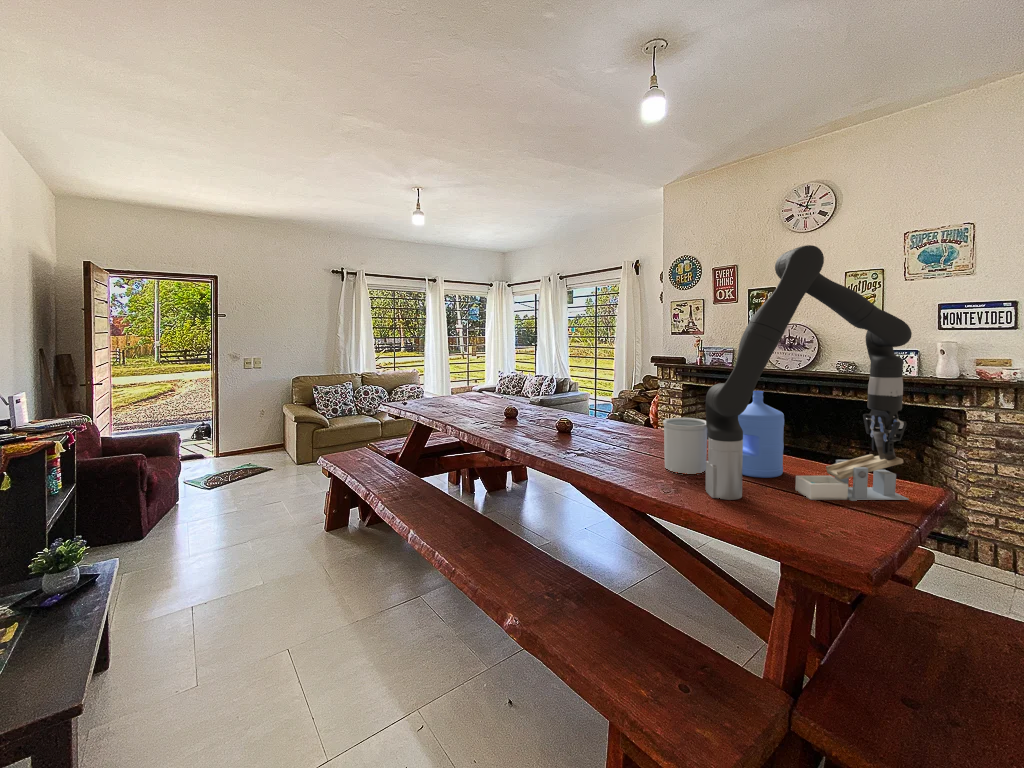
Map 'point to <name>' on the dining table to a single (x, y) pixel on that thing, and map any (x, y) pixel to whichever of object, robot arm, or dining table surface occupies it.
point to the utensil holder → (685, 445)
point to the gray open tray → (821, 488)
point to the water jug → (762, 439)
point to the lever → (865, 461)
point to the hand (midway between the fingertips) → (882, 452)
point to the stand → (881, 485)
